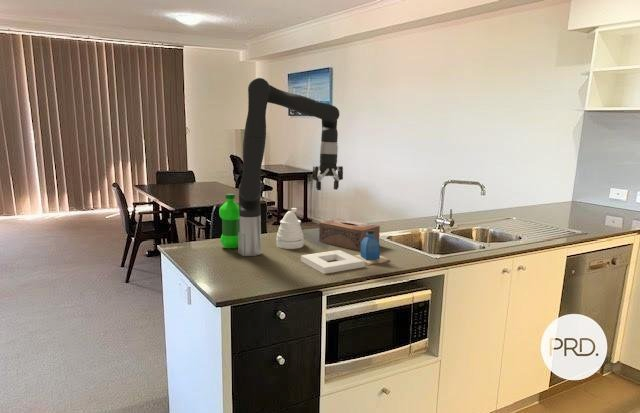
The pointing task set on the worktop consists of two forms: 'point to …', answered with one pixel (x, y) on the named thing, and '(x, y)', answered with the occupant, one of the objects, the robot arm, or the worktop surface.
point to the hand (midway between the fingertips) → (327, 189)
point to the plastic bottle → (230, 222)
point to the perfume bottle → (370, 247)
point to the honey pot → (290, 232)
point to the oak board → (369, 262)
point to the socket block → (341, 264)
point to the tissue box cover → (345, 233)
